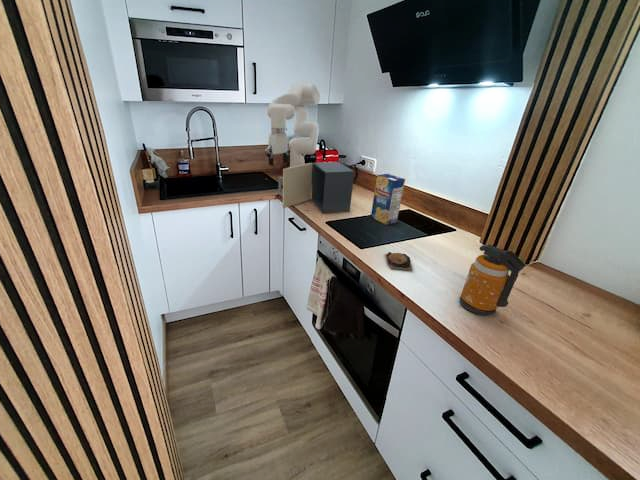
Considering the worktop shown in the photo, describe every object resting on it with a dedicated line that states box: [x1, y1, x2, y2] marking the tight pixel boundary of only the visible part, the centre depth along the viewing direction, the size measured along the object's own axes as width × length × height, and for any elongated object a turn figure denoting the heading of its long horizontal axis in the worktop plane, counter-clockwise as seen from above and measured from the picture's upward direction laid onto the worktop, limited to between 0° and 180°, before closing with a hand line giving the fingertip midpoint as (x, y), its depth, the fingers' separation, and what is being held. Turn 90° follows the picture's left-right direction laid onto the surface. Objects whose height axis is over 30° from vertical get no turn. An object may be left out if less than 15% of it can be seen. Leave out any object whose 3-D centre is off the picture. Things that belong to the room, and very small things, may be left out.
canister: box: [459, 243, 527, 316], centre depth 80 cm, size 9×11×20 cm
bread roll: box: [385, 251, 413, 272], centre depth 106 cm, size 11×8×4 cm
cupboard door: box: [277, 162, 314, 209], centre depth 160 cm, size 7×22×22 cm, turn 133°
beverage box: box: [370, 173, 406, 226], centre depth 138 cm, size 7×11×22 cm, turn 26°
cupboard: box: [310, 161, 355, 214], centre depth 157 cm, size 15×22×22 cm
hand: (278, 164), depth 153 cm, fingers open, 9 cm apart
